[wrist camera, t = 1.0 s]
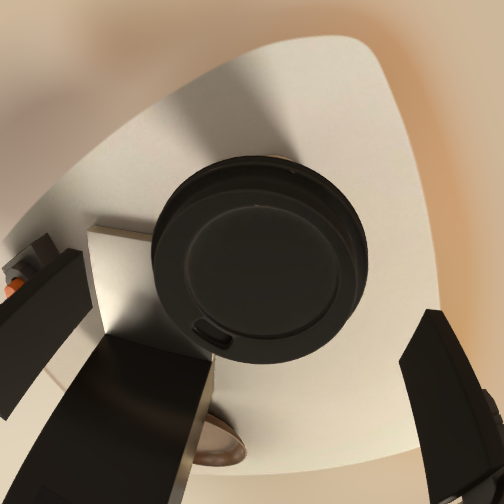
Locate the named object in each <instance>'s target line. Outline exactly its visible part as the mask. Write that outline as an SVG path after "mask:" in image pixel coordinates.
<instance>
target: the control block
mask: <svg viewBox="0 0 504 504" xmlns="http://www.w3.org/2000/svg"><path fill="white" fill-rule="evenodd" d="M58 255H60V254H59V253H58V251H57V249H56V247H55V246H54V244H53V242H52V240H51V239H50V237H49V235H48V233H46V234H45V235H43V236H42V237H40V238H39V239H38V240H36V241H35V242H33V243H32V244H30V245H29V246H28V247H27V248H25V249H24V250H23V251H22V252H20V253H19V254H18V255H17V256H16V257H14V258H13V259H12V260H11V261H9V262H8V263H7V264H6V265H5V266H4V267H2V270H3V272H4V273H5V275H6V283H7V285H8V284H10V283H11V282H12V281H13V280H14V279H15V278H20V279H21V280H22V281H23V282H24V283H26V282H27V281H28V280H29V279H30V278H31V277H33V276H34V275H35V274H36V273H37V272H39V271H40V270H41V269H42V268H43V267H45V266H46V265H47V264H48V263H50V262H51V261H52V260H53V259H55V258H56V257H57V256H58Z"/></svg>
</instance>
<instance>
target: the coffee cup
mask: <svg viewBox="0 0 504 504" xmlns="http://www.w3.org/2000/svg"><path fill="white" fill-rule="evenodd" d="M151 264H152V270H153V275H154V282H155V287H156V291H157V294H158V297H159V300H160V302H161V304H162V306H163V308H164V310H165V312H166V314H167V315H168V317H169V318H170V319H171V321H172V322H173V323H174V324H175V326H176V327H177V328H178V329H179V330H180V331H181V332H182V333H183V334H184V335H185V336H186V337H188V338H189V339H190V340H191V341H193V342H194V343H196V344H197V345H199V346H200V347H202V348H204V349H205V350H207V351H209V352H211V353H213V354H215V355H218V356H220V357H223V358H226V359H229V360H233V361H237V362H243V363H250V364H276V363H283V362H288V361H292V360H295V359H299V358H301V357H304V356H306V355H308V354H311V353H313V352H314V351H316V350H318V349H319V348H321V347H322V346H324V345H325V344H327V343H328V342H329V341H330V340H331V339H332V338H333V337H334V336H335V335H336V334H337V333H338V332H339V331H340V330H341V328H342V327H343V326H344V324H345V323H346V321H347V320H348V319H349V317H350V316H351V315H352V313H353V312H354V310H355V309H356V307H357V305H358V304H359V302H360V299H361V297H362V295H363V292H364V289H365V286H366V281H367V275H368V248H367V241H366V236H365V232H364V229H363V226H362V223H361V221H360V219H359V217H358V215H357V213H356V211H355V210H354V208H353V206H352V205H351V203H350V202H349V201H348V199H347V198H346V197H345V196H344V194H343V193H342V192H341V191H340V190H339V189H338V188H337V187H336V186H335V185H333V184H332V183H331V182H330V181H329V180H327V179H326V178H325V177H323V176H322V175H320V174H319V173H317V172H315V171H314V170H312V169H310V168H308V167H306V166H303V165H301V164H298V163H296V162H294V161H293V160H291V159H289V158H286V157H284V156H280V155H266V156H241V157H234V158H230V159H226V160H222V161H219V162H216V163H213V164H211V165H209V166H207V167H205V168H203V169H201V170H199V171H198V172H196V173H195V174H193V175H192V176H190V177H189V178H188V179H187V180H185V181H184V182H183V183H182V184H181V185H180V186H179V187H178V188H177V189H176V190H175V191H174V193H173V194H172V195H171V197H170V198H169V199H168V201H167V203H166V205H165V206H164V208H163V210H162V212H161V214H160V216H159V218H158V220H157V222H156V225H155V228H154V232H153V236H152V242H151Z"/></svg>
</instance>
